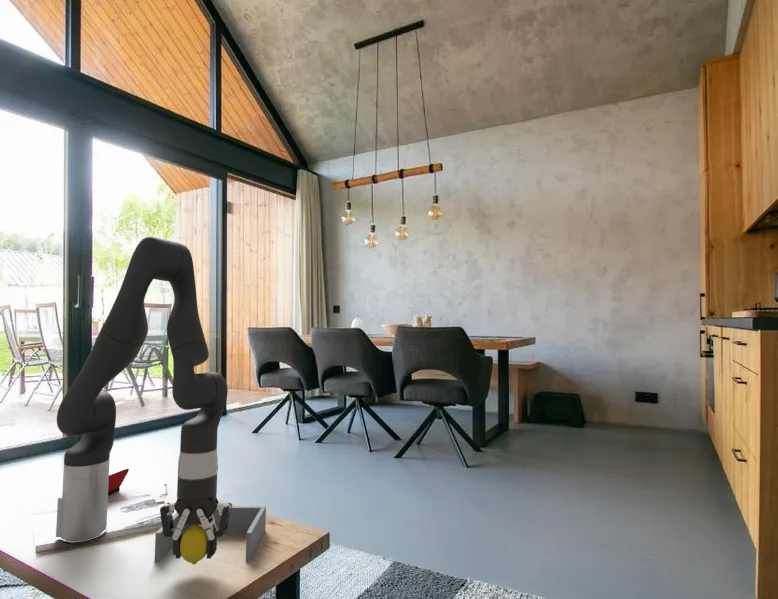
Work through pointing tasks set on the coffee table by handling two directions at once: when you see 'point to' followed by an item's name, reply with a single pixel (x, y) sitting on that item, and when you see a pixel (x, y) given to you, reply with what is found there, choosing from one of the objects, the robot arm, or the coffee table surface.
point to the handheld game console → (116, 481)
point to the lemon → (194, 544)
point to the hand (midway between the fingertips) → (194, 556)
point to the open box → (239, 522)
